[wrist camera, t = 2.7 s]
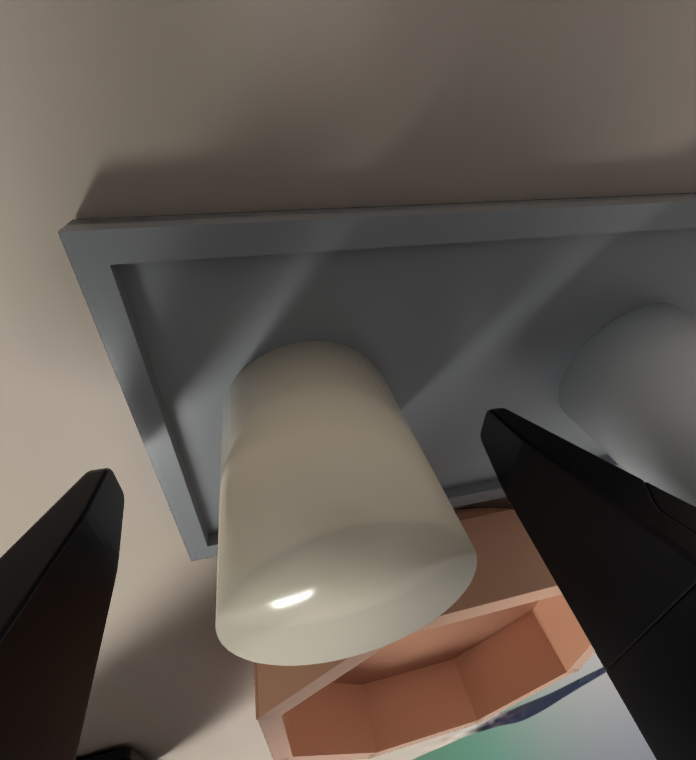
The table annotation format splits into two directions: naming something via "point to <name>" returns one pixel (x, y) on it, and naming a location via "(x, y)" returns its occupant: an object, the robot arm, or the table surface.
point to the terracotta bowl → (433, 661)
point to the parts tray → (372, 315)
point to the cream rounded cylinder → (327, 513)
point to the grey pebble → (640, 395)
